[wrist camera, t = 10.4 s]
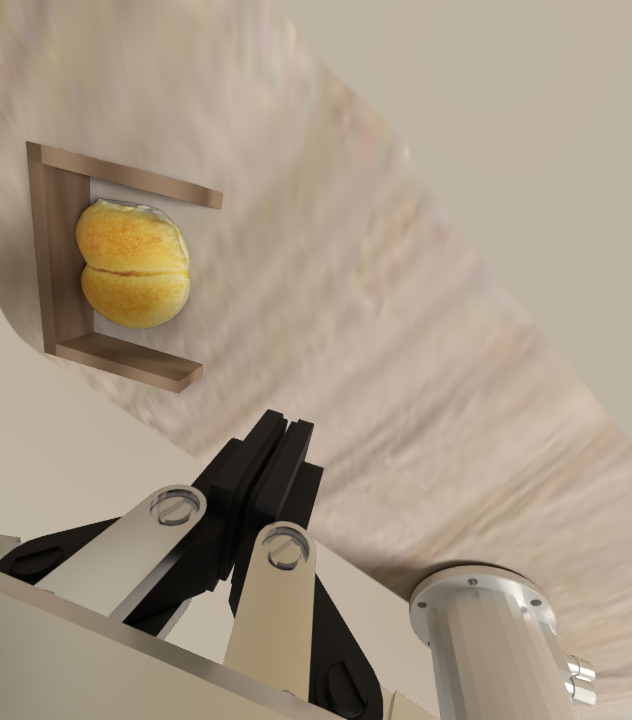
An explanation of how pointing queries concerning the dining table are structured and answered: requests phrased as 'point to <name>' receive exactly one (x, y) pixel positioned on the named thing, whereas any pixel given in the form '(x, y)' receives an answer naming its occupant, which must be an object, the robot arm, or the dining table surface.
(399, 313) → the dining table surface
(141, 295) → the bread roll
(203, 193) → the brown u-shaped frame
